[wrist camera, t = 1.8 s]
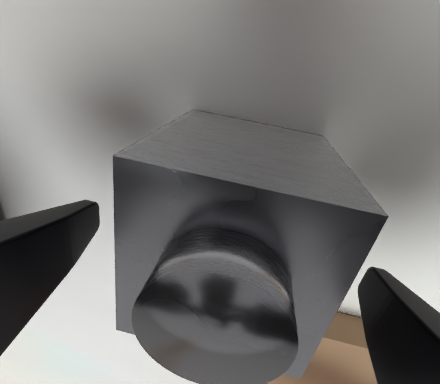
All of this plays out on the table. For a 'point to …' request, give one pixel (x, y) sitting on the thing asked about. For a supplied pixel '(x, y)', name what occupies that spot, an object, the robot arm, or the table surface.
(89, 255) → the table surface
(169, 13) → the table surface
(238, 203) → the metal cube with knob
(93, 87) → the table surface
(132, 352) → the table surface
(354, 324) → the brown flat block
